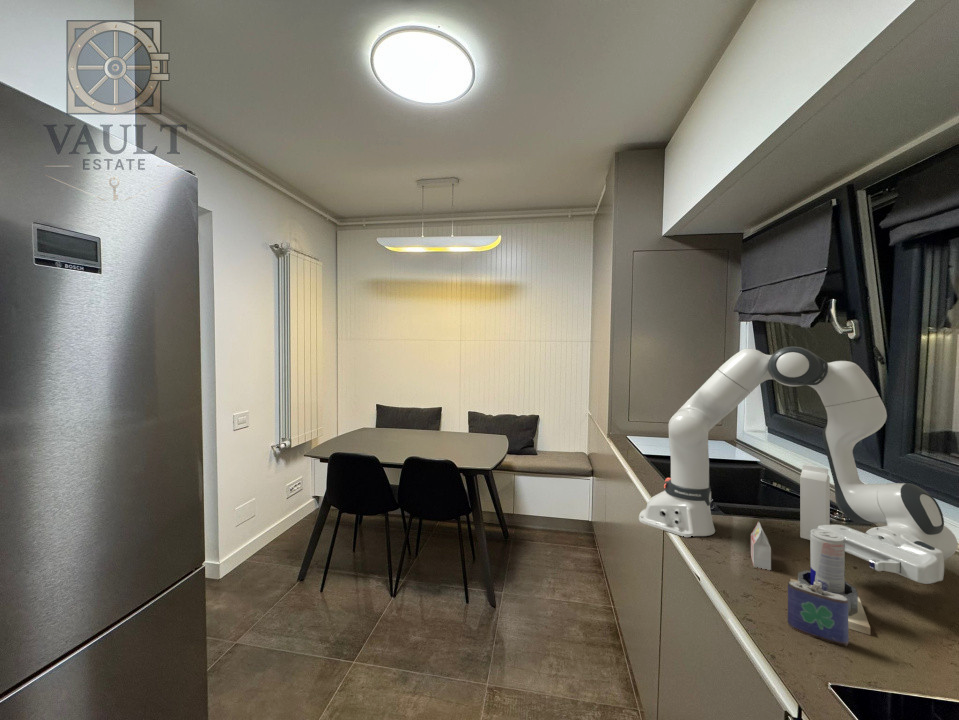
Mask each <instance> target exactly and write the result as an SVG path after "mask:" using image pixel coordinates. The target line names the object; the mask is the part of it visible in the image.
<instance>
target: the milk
mask: <svg viewBox="0 0 959 720" xmlns="http://www.w3.org/2000/svg"><path fill="white" fill-rule="evenodd" d="M801 467H802V470H801V472H800V477H799V478H800V480H799V481H800V482H799V485H800V486H799V487H800V488H799V489H800V490H799V491H800V492H799V493H800V494H799V496H800V498H799V499H800V501H799V503H800V506H799V507H800V509H799V511H800V513H799V514H800V516H799V518H800V521H799V522H800V523H799V525H800V527H799V529H800V530H799V533H800V535H799V537H800V538H801V539H804V540H809V541H810V534H811V530H812V529H817V528H818V526H820V525H831V524H830V521H831V520H830V515H831V514H830V512H831V511H830V509H831V507H830V505H831V504H830V501H831V499H830V498H831V495H830V492H831V490H830V489H831V488H830V487H831V485H830V484H831V481H830V480H831V479H830V475H829V469H828V468H824V467H820V466H814V465H813V466H812V465H806V464H803V465H801Z"/></svg>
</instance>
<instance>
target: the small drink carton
mask: <svg viewBox="0 0 959 720" xmlns="http://www.w3.org/2000/svg"><path fill="white" fill-rule="evenodd" d="M763 529H764V528H762V525H761V523H760V521H757V523H756V525H755V527H754V528H753V530H752V532H751V533H750V556H751V557H750V558H751V562H752V566H753V567H754V568H757V567H758V568H757V569H761V568H762V570H765V569H767V570H766V571H770V570H771V571H772V548H771V547H772V546H771V544H770V542H769V539H768V537H767V535H766V533H765V532H764V530H763Z"/></svg>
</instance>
